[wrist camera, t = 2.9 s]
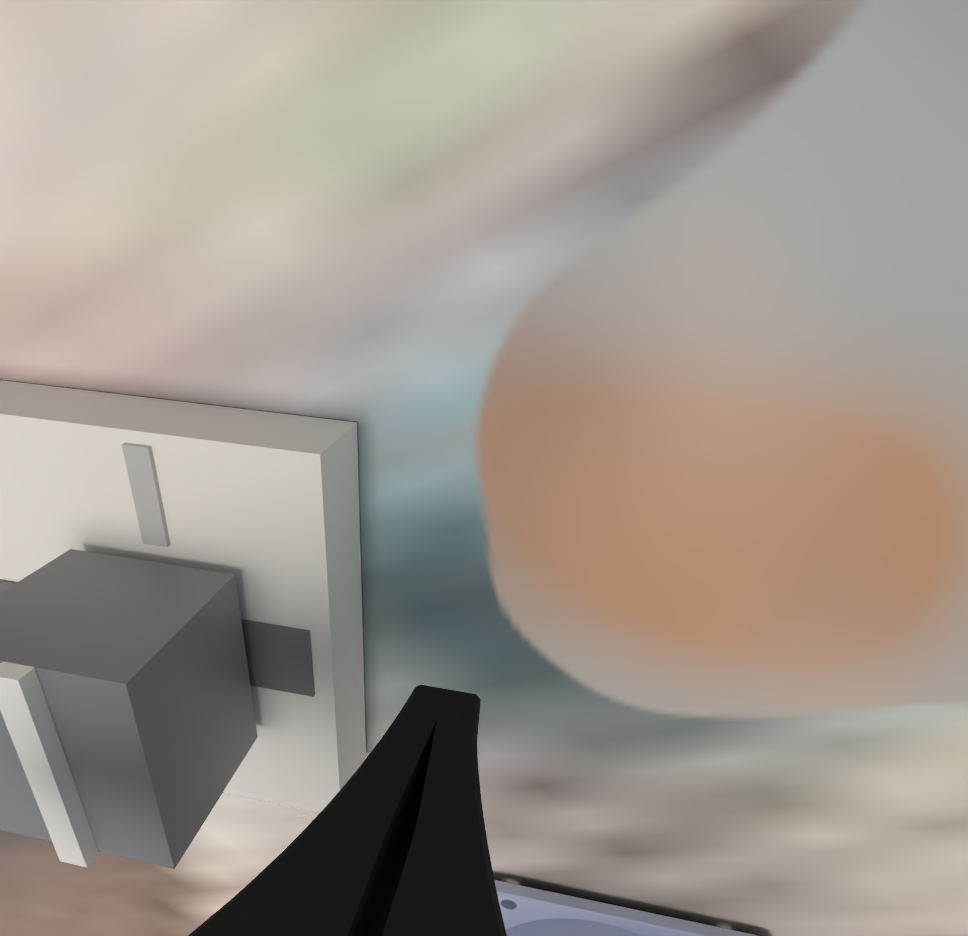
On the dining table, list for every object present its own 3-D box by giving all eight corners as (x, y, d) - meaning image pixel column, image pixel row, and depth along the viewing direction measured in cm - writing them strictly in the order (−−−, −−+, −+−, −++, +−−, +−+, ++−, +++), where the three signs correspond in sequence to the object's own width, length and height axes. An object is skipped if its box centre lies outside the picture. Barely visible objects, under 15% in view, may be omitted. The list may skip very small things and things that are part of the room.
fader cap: (234, 574, 12) (112, 698, 9) (257, 736, 14) (164, 885, 11) (70, 548, 12) (-103, 658, 9) (115, 709, 14) (-14, 844, 11)
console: (357, 422, 13) (317, 456, 11) (366, 755, 17) (339, 820, 15) (-256, 349, 15) (-381, 367, 13) (-104, 665, 19) (-180, 713, 17)
